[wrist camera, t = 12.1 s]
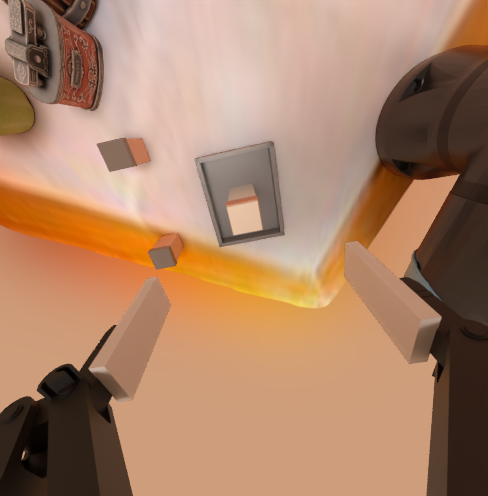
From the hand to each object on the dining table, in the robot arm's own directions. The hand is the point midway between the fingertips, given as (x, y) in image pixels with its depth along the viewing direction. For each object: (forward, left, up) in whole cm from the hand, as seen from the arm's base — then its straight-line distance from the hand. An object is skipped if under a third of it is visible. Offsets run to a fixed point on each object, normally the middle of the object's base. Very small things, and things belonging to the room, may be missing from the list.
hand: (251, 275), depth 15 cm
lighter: (+16, -19, -22) cm, 33 cm away
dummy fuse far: (+14, +5, -22) cm, 27 cm away
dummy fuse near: (+14, -10, -22) cm, 28 cm away
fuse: (0, 0, -22) cm, 22 cm away
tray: (0, 0, -22) cm, 22 cm away
